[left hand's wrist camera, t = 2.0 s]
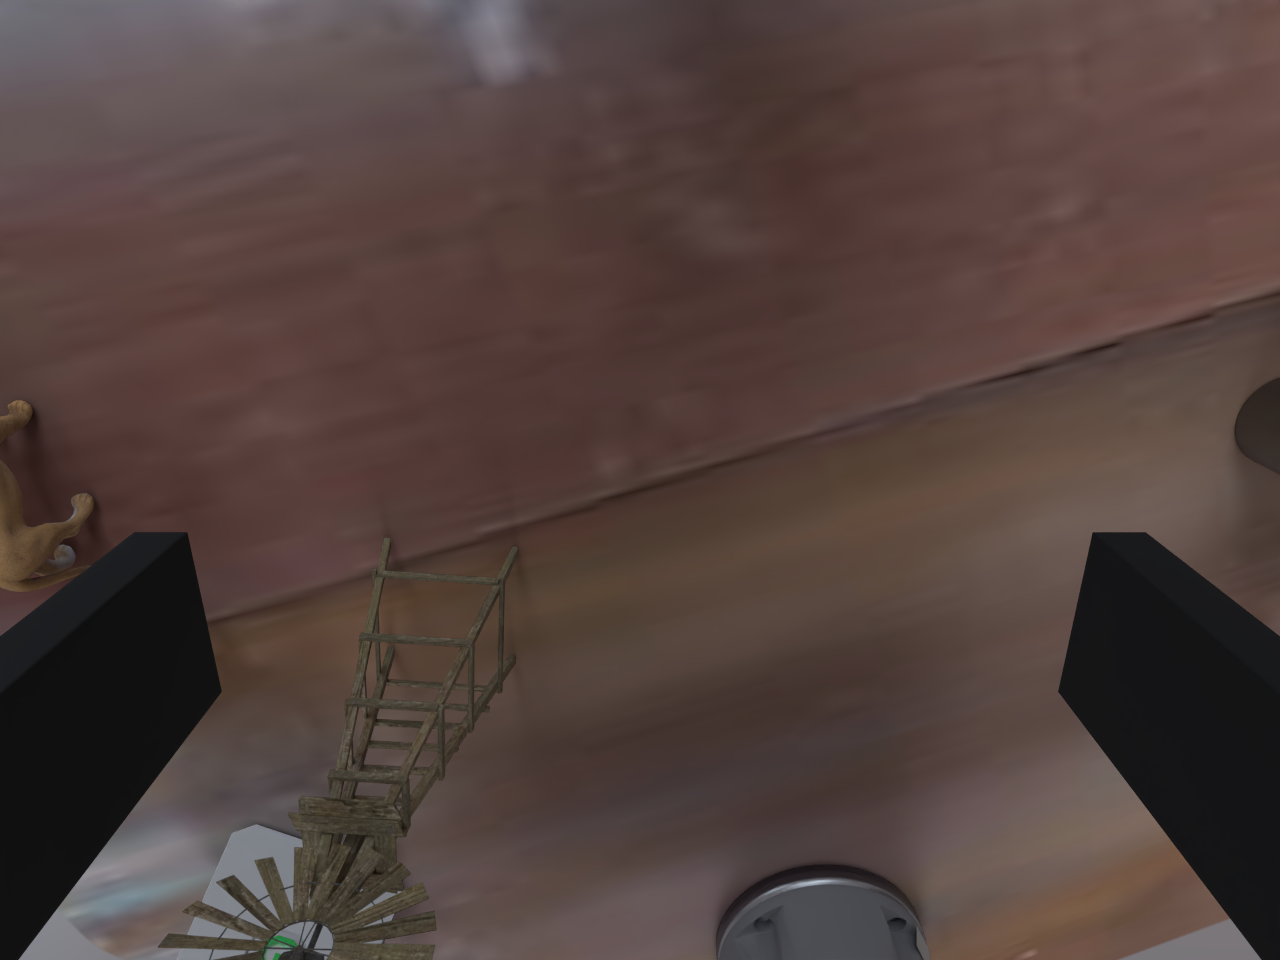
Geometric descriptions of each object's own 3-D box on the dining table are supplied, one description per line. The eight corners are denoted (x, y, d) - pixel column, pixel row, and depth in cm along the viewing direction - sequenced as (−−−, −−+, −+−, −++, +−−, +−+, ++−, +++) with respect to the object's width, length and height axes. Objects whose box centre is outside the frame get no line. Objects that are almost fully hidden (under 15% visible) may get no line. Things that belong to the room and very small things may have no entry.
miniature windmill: (526, 546, 52) (395, 1021, 24) (523, 664, 55) (402, 1207, 27) (376, 536, 51) (63, 1004, 24) (380, 655, 55) (110, 1193, 27)
